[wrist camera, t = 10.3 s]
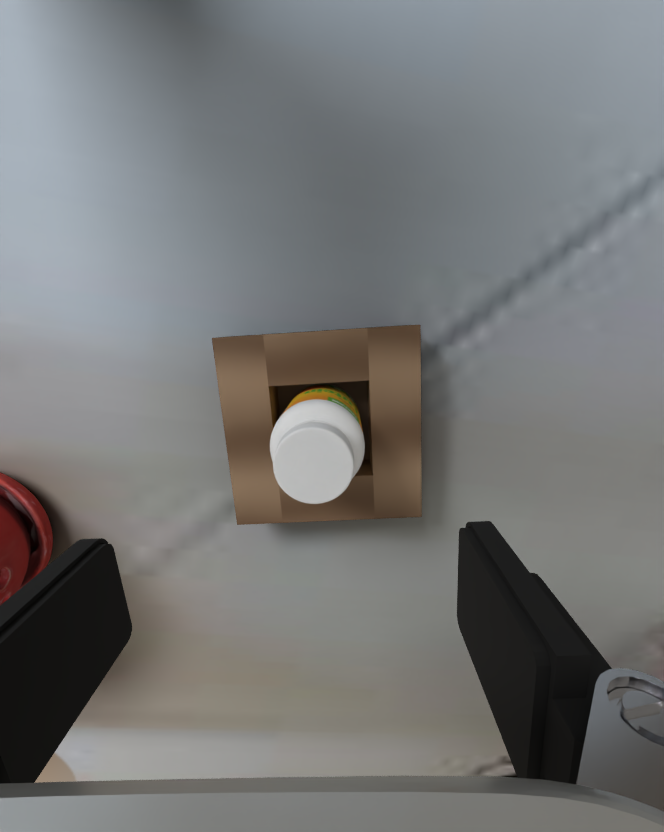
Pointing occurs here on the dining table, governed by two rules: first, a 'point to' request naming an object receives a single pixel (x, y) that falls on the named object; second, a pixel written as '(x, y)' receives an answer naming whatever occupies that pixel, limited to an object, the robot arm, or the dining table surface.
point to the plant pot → (21, 537)
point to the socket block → (347, 369)
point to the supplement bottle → (317, 444)
